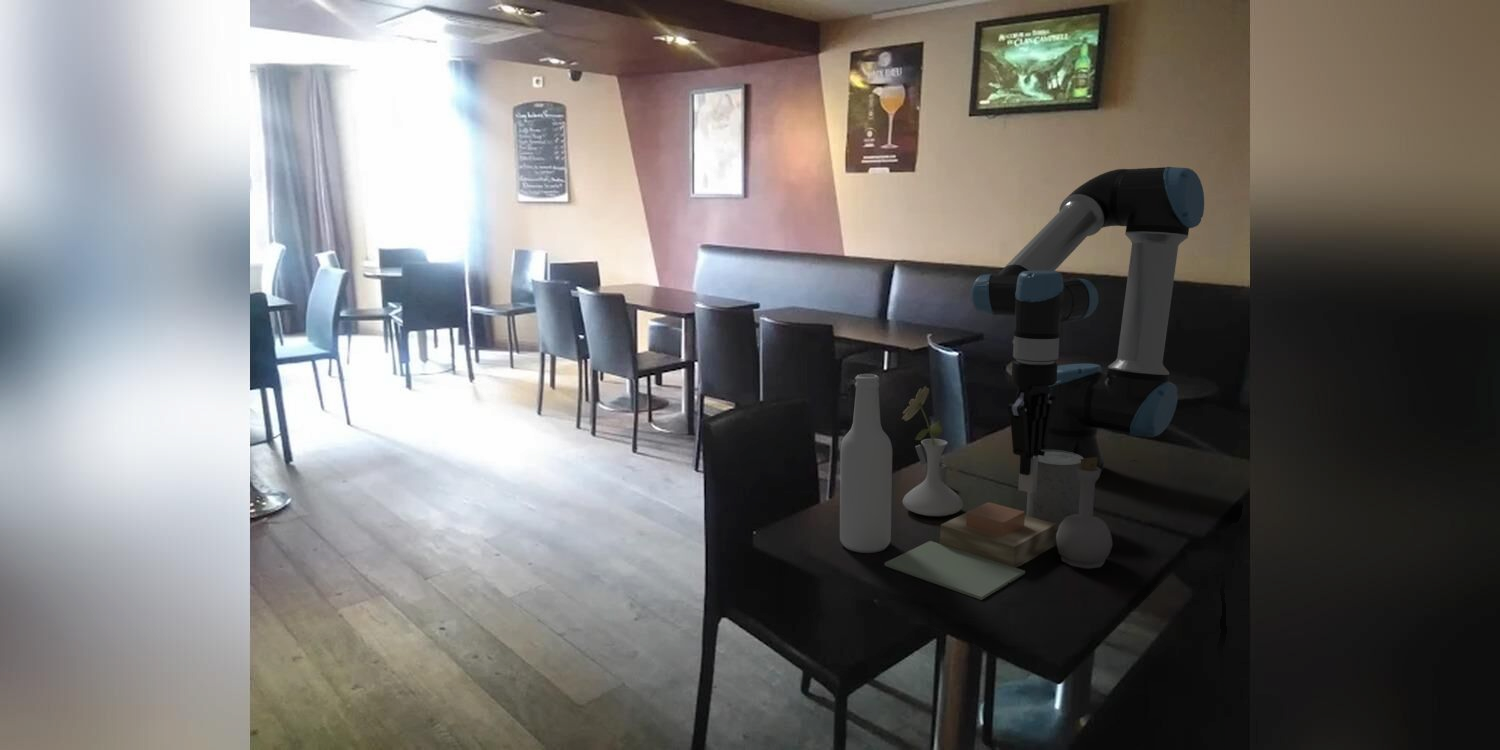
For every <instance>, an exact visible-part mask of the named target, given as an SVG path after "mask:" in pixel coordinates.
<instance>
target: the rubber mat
mask: <svg viewBox="0 0 1500 750" xmlns="http://www.w3.org/2000/svg"><path fill="white" fill-rule="evenodd" d="M884 566H885V567H887V568H891V569H893V570H895V571H899V572H902V573H904V574H907V575H910V576H912V577H916V578H918V579H921V580H924V581H927V582H929V583H932V584H936V585H938V586H941V587H943V588H946V589H950V590H952V591H955V592H958V593H960V594H963V595H966V596H969V597H972V598H973V599H974V598H975V599H977V600H980V601H982V600H984V599H985V598H988V597H989V596H991V595H992V594H993V593H996V592H997V591H999V590H1001V589H1002V588H1004V587H1006V586H1007V585H1009V584H1011V583H1012V582H1014V581H1016V580H1017V579H1018V578H1020V577H1022V576H1023V575H1026V571H1025V570H1023V569H1020V568H1019V567H1018V568H1014V567H1011V566H1008V565H1005V564H1002V563H999V562H995V561H992V560H989V559H986V558H983V557H980V556H976V555H973V554H970V553H967V552H964V551H961V550H957V549H954V548H951V547H948V546H945V545H942V544H940V543H938V542H936V541H932V540H929V541H926V542H925V543H923V544H921V545H918V546H917V547H915V548H913V549H910V550H908V551H906V552H904V553H902V554H900V555H898V556H896V557H894V558H892V559H889V560H887V561H885V562H884ZM1008 583H1009V584H1008Z"/></svg>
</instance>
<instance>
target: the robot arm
mask: <svg viewBox="0 0 1500 750" xmlns="http://www.w3.org/2000/svg"><path fill="white" fill-rule="evenodd" d="M1204 210H1205V195H1204V188H1203V183H1202V182H1201V178H1200V176H1199V175H1198V174H1197V172H1195V171H1194V170H1193V169H1191V168H1188V167H1179V166H1178V167H1177V166H1176V167H1173V166H1164V167H1148V168H1147V167H1145V168H1119V169H1113V170H1108V171H1106V172H1103V173H1101V174H1099V175H1097V176H1095V177H1093V178H1091V179H1089V180H1087V181H1086V182H1085V183H1083V184H1082V185H1079V186H1078V187H1077V188H1076V189H1074V190H1073V191H1072V192H1071V193H1070V194H1069V195H1068V196H1067V197H1066V198H1065V199H1063V201H1062V202H1061V204H1060V206H1059V211H1058V212H1057V213H1056V214H1055V215H1054V217H1052V218H1051V220H1050V221H1048V223H1047V224H1046V225H1045V226H1044V227H1043V228H1042V229H1041V230H1040V231H1039V232H1038V233H1037V234H1036V235H1035V236H1034V237H1033V238H1032V239H1031V240H1030V241H1028V242H1027V244H1026V245H1025V246H1024V247H1022V249H1021V250H1020V251H1019V252H1018V253H1017V254H1015V255H1014V257H1013V258H1012V259H1011V260H1010V261H1009V262H1008V263H1007V264H1006V265H1005V266H1004V267H1003V268H1002V269H1001V270H1000V271H999V273H997V274H994V273H990V274H981V275H979V276H978V277H977V278H976V279H975V281H974V282H973V285H972V287H971V292H970V293H971V294H970V296H971V297H970V298H971V300H972V305H973V307H974V309H975V310H976V311H978V312H979V313H983V314H990V315H993V316H1003V317H1004V316H1005V317H1006V316H1007V317H1014V329H1013V335H1014V336H1013V340H1012V344H1013V351H1012V357H1013V358H1014V360H1013V361H1012V362H1011V381H1012V382H1013V383H1014V384H1017V386H1018V388H1017V392H1016V396H1015V397H1016V400H1015V402H1014V403H1009V404H1008V405H1007V411H1008V412H1009V415H1010V425H1011V426H1010V427H1011V443H1012V453H1013V454H1014V455H1016V456H1019V468H1018V469H1019V470H1018V471H1019V473H1018V489H1017V490H1018V491H1021V492H1025V493H1028V492H1029V493H1034V492H1036V488H1037V472H1038V455H1041V456H1044V454H1045V452H1043V451H1041V450H1060V451H1067V452H1072V453H1075V454H1078V455H1080V456H1082V457H1083V458H1084V459H1085V458H1093V457H1098V459H1097V465H1096V467H1098V468H1100V469H1101V473H1100V475H1101V474H1103V472H1104V464H1105V463H1104V457H1103V454H1102V451H1101V447H1100V443H1099V440H1098V429H1102V430H1106V431H1112V432H1118V433H1124V434H1129V435H1131V436H1133V437H1136V436H1138V437H1140V436H1141V437H1146V438H1154V437H1157V436H1159V435H1161V434H1162V433H1163V432H1164V431H1165V430H1166V429H1167V427H1168V426H1169V425H1170V423H1171V421H1172V419H1173V417H1174V414H1175V412H1176V408H1177V405H1178V399H1179V394H1178V387H1177V385H1176V384H1174V383H1173V382H1171V381H1169V378H1170V372H1169V370H1168V369H1167V368H1166V367H1165V365H1164V363H1163V362H1164V354H1165V347H1166V340H1167V332H1168V324H1169V318H1170V310H1171V305H1172V304H1171V303H1172V296H1173V289H1174V288H1173V287H1174V281H1175V275H1176V267H1177V265H1176V264H1177V259H1178V251H1179V246H1180V244H1181V243H1183V242H1184V241H1186V240H1187V239H1189V234H1190V233H1189V231H1190V229H1193V228H1195V227H1197V226H1199V225H1200V224H1201V222H1202V218H1203V216H1204ZM1107 227H1125V236H1126V237H1127V239H1128V240H1129V241H1130V242H1131V248H1130V249H1131V250H1130V256H1129V264H1128V265H1129V266H1128V271H1127V272H1128V273H1127V281H1126V285H1125V286H1126V288H1125V297H1124V301H1123V302H1124V303H1123V311H1122V318H1121V327H1120V334H1119V343H1118V347H1117V348H1118V349H1117V355H1116V356H1117V357H1116V359H1115V360H1114V361H1113V362H1112V363H1111V364H1109V365H1108V366H1107V372H1106V373H1104V372H1103V368H1102V366H1101V365H1100V364H1096V363H1071V364H1070V363H1069V364H1068V363H1067V364H1062V365H1061V364H1059V365H1058V363H1057V362H1056V361H1057V360H1058V359H1059V353H1060V352H1059V351H1060V330H1061V323H1068V322H1078V321H1081V320H1083V319H1085V318H1088V317H1090V316H1091V315H1093V313H1094V312H1095V311H1096V309H1097V307H1098V305H1099V293H1098V289H1097V288H1096V286H1095V285H1094V284H1093V283H1092V282H1091V281H1090V280H1087V279H1084V278H1078V277H1077V278H1076V277H1075V278H1074V277H1070V278H1066V279H1065V278H1064V277H1063V274H1062V272H1059V271H1058V270H1057V269H1058V268H1059V267H1060V266H1061V265H1062V264H1063V263H1064V262H1065V261H1066V260H1067V259H1068V257H1069V256H1070V255H1071V254H1072V253H1073V252H1074V251H1075V250H1076V249H1077V248H1078V247H1079V246H1080V245H1081V244H1082V242H1084V240H1085V239H1086V238H1087V237H1091V236H1094V235H1096V234H1097V233H1099V232H1100V231H1101V229H1103V228H1107ZM1056 270H1057V271H1056Z"/></svg>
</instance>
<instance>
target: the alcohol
mask: <svg viewBox="0 0 1500 750" xmlns="http://www.w3.org/2000/svg"><path fill="white" fill-rule="evenodd" d="M854 378H855V380H856V381H855V384H854V386H855V394H854V395H855V398H854V408H853V419H852V425H851V427H850V429H849V431H848V432H847V433H846V434H845V435H844V437H843V439H842V440H841V446H840V452H839V453H840V454H839V455H840V459H839V460H840V461H839V463H840V464H839V465H840V468H839V471H840V473H839V475H840V476H839V479H840V480H839V482H840V483H839V486H840V487H839V541H840V542H841V544H842V546H843V547H844V548H846V549H847V550H849V551H851V552H855V553H862V554H863V553H864V554H872V553H878V552H882V551H884V550H885V549H887V548H888V546H889V545H890V543H891V541H892V540H891V538H892V537H891V536H892V533H891V532H892V496H893V495H892V494H893V493H892V492H893V491H892V487H893V485H892V483H893V482H892V481H893V447H892V446H893V445H892V442H891V439H890V438H889V436H888V434H887V433H886V432H885V431H884V430H883V427H882V425H881V411H880V395H879V387H880V383H879V380H880V377H879V376H878V375H877V374H872V373H862V374H857V375H856V376H855V377H854Z"/></svg>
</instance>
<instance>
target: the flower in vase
mask: <svg viewBox="0 0 1500 750" xmlns="http://www.w3.org/2000/svg"><path fill="white" fill-rule="evenodd" d="M929 394H930V388H928V387H927V386H926V385H924V387H923V389H922V388H919V389H918V392H917V393H916V395H915V398H911V399H910V400H909V402H908V406H907V407H906V409H904V410H903V411H902V415H903V416H902V417H901V419H902V420H904V421H905V422H907V421H910V420H911V419H912V418H913V417H914V416H915V415H916V414H917V413H918V412H919V411H920V410H921V412H922V414H923V417H924V419H925V422H926V425H927V428H922V430H921V431H919V432H918V433H917V434H916V436H915V441H920V440H921V441H920V443H921V444H922V445H923V446H924V448H925V450H926V454H927V461H928V472H927V477H926V476H925V479H924V480H923V481H922V482H921V483H919V484H917V485H916V486H915V487H914V488H912V489H911V490H909V491H908V492H907V493H906V494H905V495H904V496H903V499H902V504H903V506H904V507H905V509H907V510H908V511H910V512H912V513H914V514H918V515H921V516H926V517H946V516H950V515H954V514H957V513H958V512H960V511H961V510H962V508H963V507H964V504H963V501H962V498H961V497H960V496H959V494H957V492H955V491H954V490H953V489H951V488H950V487H949V486H948V485H947V484H946V485H945V484H944V483H943V482H942V480H941V478H940V460H942V459H941V458H942V454H943V452H944V449H945V448H946V446H948V441H947V440H945V439H942V438H941V439H940V438H935V437H937V436H939V435H941V434H942V433H943V426H942V424H941V420H937V421H935V423H933V424H932V425H930V424H929V421H928V418H927V415H926V412H925V411H924V408H923V405H924V404H925V403H926V400H927V398H928V395H929ZM928 433H929V436H930V438H925V437H926V436H927V434H928ZM924 438H925V439H924Z"/></svg>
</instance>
